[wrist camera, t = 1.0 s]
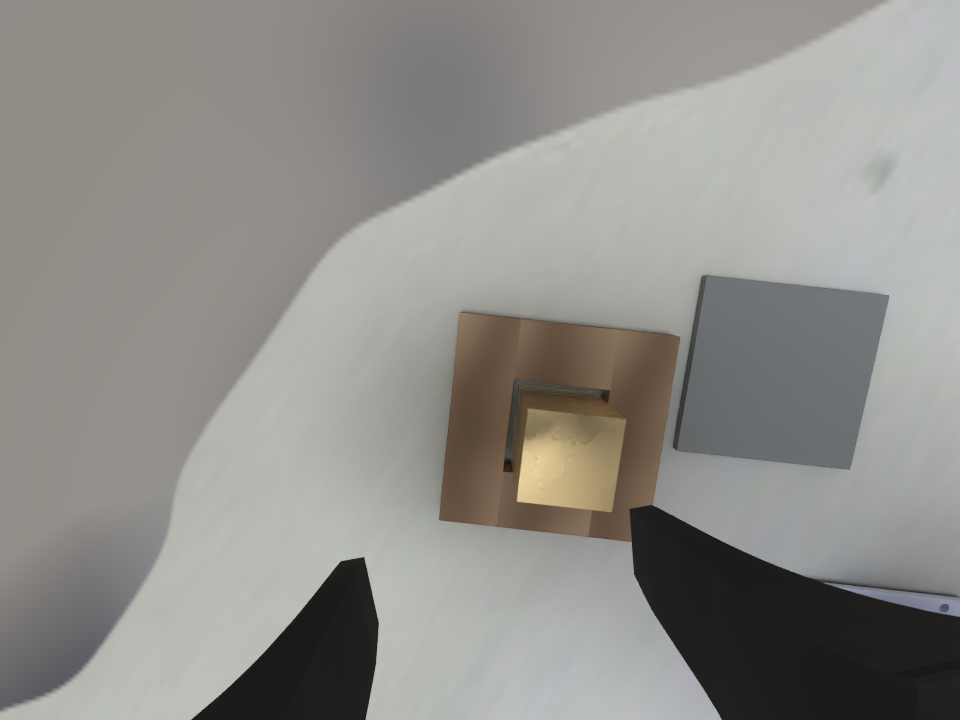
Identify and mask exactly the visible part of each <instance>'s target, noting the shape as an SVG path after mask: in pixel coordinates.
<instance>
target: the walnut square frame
mask: <svg viewBox="0 0 960 720" xmlns="http://www.w3.org/2000/svg"><path fill="white" fill-rule="evenodd" d="M679 342H680V337H679V336H673V335H667V334H657V333H648V332H639V331H630V330H621V329H612V328H602V327H593V326H584V325H575V324H566V323H556V322H547V321H538V320H529V319H520V318H510V317H501V316H492V315H483V314H474V313H465V312H461V313H460V318H459V328H458V338H457V348H456V358H455V368H454V378H453V387H452V397H451V407H450V417H449V427H448V437H447V447H446V457H445V466H444V476H443V486H442V496H441V506H440V516H439V520H442V521H451V522H460V523H469V524H478V525H487V526H496V527H505V528H514V529H523V530H532V531H541V532H550V533H559V534H567V535H576V536H585V537H594V538H603V539H612V540H621V541H630V542H632V538H631V524H630V511H629V509H631V508H637V507H642V506H648V505H652V503H653V497H654V491H655V485H656V479H657V473H658V467H659V461H660V455H661V449H662V443H663V437H664V431H665V425H666V419H667V413H668V408H669V402H670V396H671V390H672V384H673V378H674V372H675V366H676V360H677V354H678V348H679ZM514 380H521V381H531V382H540V383H549V384H558V385H567V386H576V387H585V388H594V389H603V396H602V399H604V400H605V401H606V402H607V403H608V404H609V405H610V406H612V407H613V408H614V409H615V410H616V411H617V412H618V413H620V414H621V415H622V416H623V417H624V418H625V419H626V425H625V431H624V437H623V444H622V450H621V457H620V463H619V470H618V476H617V483H616V489H615V495H614V502H613V508H612V512H605V511H596V510H587V509H579V508H570V507H561V506H552V505H543V504H534V503H525V502H517V501H516V494H515V486H514V479H513V471H512V464H505V463H504V458H505V450H506V442H507V433H508V425H509V417H510V408H511V400H512V392H513V383H514Z"/></svg>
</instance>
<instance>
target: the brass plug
mask: <svg viewBox="0 0 960 720" xmlns="http://www.w3.org/2000/svg"><path fill="white" fill-rule="evenodd" d="M625 425H626V419H625V418H624V417H623V416H622V415H621V414H620V413H618V412H617V411H616V410H615V409H614V408H613V407H612V406H610V405H609V404H608V403H607V402H606V401H605V400H604V399H602V398H601V397H600V396H599V395H598V394H597V393H596V392H590V391H580V390H571V389H562V388H553V387H544V386H535V385H526V384H519V391H518V399H517V407H516V415H515V424H514V432H513V440H512V448H511V464H512V471H513V479H514V486H515V494H516V501H517V502H525V503H534V504H543V505H552V506H561V507H570V508H579V509H587V510H596V511H605V512H612V508H613V502H614V495H615V489H616V483H617V476H618V470H619V463H620V457H621V450H622V444H623V437H624V431H625Z"/></svg>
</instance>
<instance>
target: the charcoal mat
mask: <svg viewBox="0 0 960 720" xmlns="http://www.w3.org/2000/svg"><path fill="white" fill-rule="evenodd" d="M888 300H889V295H881V294H871V293H862V292H853V291H844V290H834V289H825V288H816V287H807V286H797V285H788V284H779V283H770V282H760V281H751V280H742V279H733V278H723V277H714V276H702V281H701V287H700V293H699V299H698V305H697V311H696V316H695V322H694V328H693V334H692V340H691V346H690V352H689V357H688V363H687V369H686V375H685V381H684V387H683V393H682V398H681V404H680V410H679V416H678V422H677V428H676V433H675V439H674V445H673V448H674V449H676V450H677V451H685V452H694V453H703V454H712V455H721V456H730V457H739V458H748V459H757V460H766V461H775V462H784V463H793V464H802V465H811V466H820V467H829V468H839V469H848V470H850V467H851V463H852V459H853V454H854V450H855V445H856V441H857V436H858V432H859V428H860V423H861V419H862V414H863V410H864V406H865V401H866V397H867V392H868V388H869V384H870V379H871V375H872V370H873V366H874V362H875V357H876V353H877V348H878V344H879V339H880V335H881V331H882V326H883V322H884V317H885V313H886V309H887V304H888Z"/></svg>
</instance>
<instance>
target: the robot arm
mask: <svg viewBox="0 0 960 720" xmlns="http://www.w3.org/2000/svg"><path fill="white" fill-rule="evenodd" d="M629 511H630V524H631V538H632V551H633V565H634V575H635V577H636V579H637V581H638V583H639V585H640V587H641V589H642V591H643V594H644V595H645V597H646V599H647V601H648V603H649V605H650V607H651V609H652V611H653V612H654V614H655V616H656V617H657V619H658V620H659V622H660V623H661V625H662V626H663V628H664V630H665V631H666V633H667V634H668V636H669V637H670V639H671V640H672V642H673V643H674V645H675V646H676V648H677V649H678V651H679V652H680V654H681V655H682V657H683V658H684V660H685V661H686V663H687V664H688V666H689V668H690V669H691V671H692V672H693V674H694V675H695V677H696V678H697V680H698V681H699V683H700V684H701V686H702V687H703V689H704V690H705V692H706V693H707V695H708V697H709V698H710V700H711V702H712V703H713V705H714V707H715V708H716V710H717V712H718V713H719V715H720V717H721V719H722V720H960V598H958V597H949V596H940V595H931V594H922V593H913V592H904V591H896V590H887V589H878V588H869V587H860V586H851V585H842V584H833V583H824V582H819V581H816V580H813V579H810V578H807V577H805V576H802V575H799V574H797V573H794V572H791V571H789V570H786V569H783V568H781V567H778V566H775V565H773V564H771V563H768V562H766V561H763V560H761V559H759V558H757V557H754V556H752V555H750V554H748V553H745V552H743V551H741V550H739V549H737V548H734V547H732V546H730V545H728V544H726V543H724V542H722V541H720V540H718V539H716V538H714V537H712V536H710V535H708V534H706V533H704V532H702V531H701V530H699V529H697V528H695V527H693V526H691V525H689V524H687V523H685V522H684V521H682V520H680V519H678V518H676V517H674V516H672V515H670V514H669V513H667V512H665V511H663V510H661V509H659V508H657V507H655V506H652V505H648V506H642V507H637V508H631V509H629ZM378 626H379V622H378V618H377V613H376V609H375V604H374V600H373V595H372V591H371V586H370V582H369V577H368V573H367V568H366V563H365V559H364V557H362V558H357V559H351V560H346V561H341V562H340V563H339V564H338V565H337V567H336V568H335V569H334V570H333V572H332V573H331V574H330V575H329V577H328V578H327V579H326V580H325V582H324V583H323V584H322V585H321V587H320V588H319V589H318V591H317V592H316V593H315V594H314V596H313V597H312V598H311V599H310V601H309V602H308V603H307V604H306V605H305V607H304V608H303V609H302V610H301V612H300V613H299V614H298V615H297V616H296V618H295V619H294V620H293V621H292V622H291V623H290V624H289V625H288V627H287V628H286V629H285V630H284V631H283V632H282V633H281V634H280V636H279V637H278V638H277V639H276V640H275V641H274V642H273V643H272V644H271V646H270V647H269V648H268V649H267V650H266V651H265V652H264V653H263V654H262V655H261V656H260V657H259V658H258V659H257V660H256V661H255V662H254V663H253V664H252V665H251V667H250V668H249V669H247V670H246V671H245V672H244V673H243V674H242V675H241V676H240V677H239V678H238V679H237V680H236V681H235V682H234V683H233V684H232V685H231V686H230V687H229V688H228V689H226V690H225V691H224V692H223V693H222V694H221V695H220V696H219V697H217V698H216V699H215V700H214V701H213V702H212V703H210V704H209V705H208V706H207V707H206V708H204V709H203V710H202V711H201V712H200V713H199V714H197V715H196V716H195V717H194V718H193V719H192V720H365V719H366V714H367V709H368V704H369V699H370V693H371V688H372V682H373V677H374V671H375V666H376V655H377V642H378Z"/></svg>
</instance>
